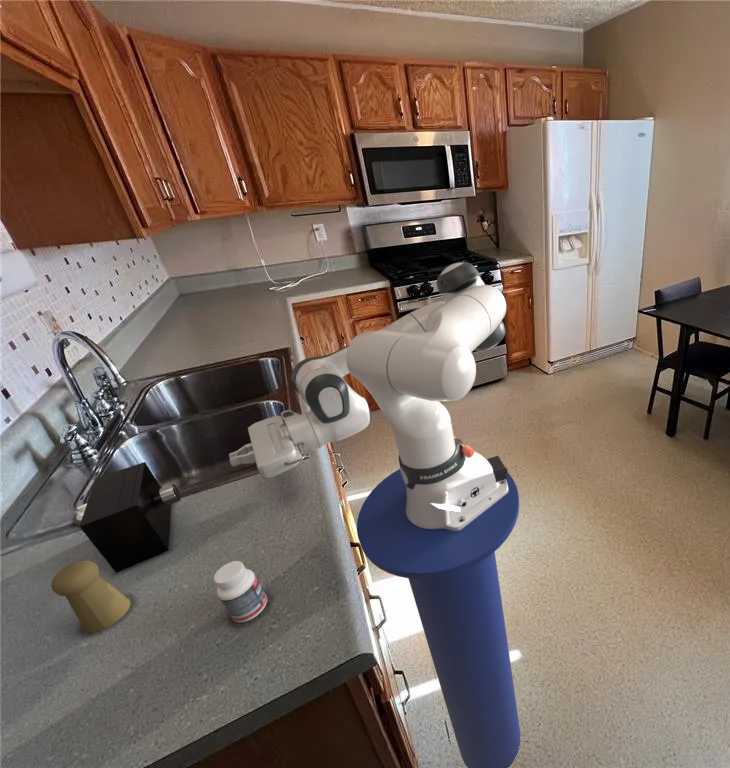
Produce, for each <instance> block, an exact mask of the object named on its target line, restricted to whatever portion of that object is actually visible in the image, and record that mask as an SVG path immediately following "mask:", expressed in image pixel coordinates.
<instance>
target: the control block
mask: <svg viewBox="0 0 730 768" xmlns="http://www.w3.org/2000/svg"><path fill="white" fill-rule="evenodd" d="M160 488H162V487H161V485H160V483H159V482H158V480H157V478H156V477H155V476H154V474H153V472H152V470H151V468H150V467H149V466H148V464H147V462H146V461H143V462H140V463H138V464H134V465H132V466H128V467H125V468H123V469H119V470H116V471H113V472H110V473H107V474H104V475H102V476H99V477H96V478H95V479H94V482H93V485H92V488H91V490H90V494H89V497H88V500H87V503H86V504H87V505H86V508H85V511H84V514H83V517H82V520H81V523H80V526H78V527H79V528H80V530H81V531H82V532H83V534H84V535H85V536H86V537H87V539H89V541H90V542H91V543H92V545H93V546H94V547H95V548H96V550H97V551H98V553H100V555H101V556H102V557H103V559H104V560H105V561H106V562H107V563H108V565H109V566H110V567H111V569H112V570H113V571H114V572H115V574H117V573H119V572H122V571H124V570H126V569H130V568H132V567H133V566H136V565H138V564H140V563H143V562H145V561H148V560H149V559H153V558H156V557H158V556H160V555H162V554H164V553H166V552H168V551H169V550H170V548H169V547H170V534H171V521H172V520H171V519H172V505H173V504H171V505H168V506H166V505H165V504H164V503H163V501H162V502H159V503H157V504H153V503H152V501H151V500H150V499H151V498H153V497H156V496H158V495H160V494H159V489H160Z"/></svg>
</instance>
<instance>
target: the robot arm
mask: <svg viewBox="0 0 730 768" xmlns="http://www.w3.org/2000/svg"><path fill="white" fill-rule="evenodd" d="M479 274H480V272H479V271H478V269H477V268H476V267H475V266H474V265H473V264H472V263H470V262H467V261H465V262H455V263H451V264H449V265H448V266H447V267H445V268H444V269H443V270H442V271H441V273H440V274H439V275H438V276H437V279H436V286H437V290H438V293H439V295H441V296H442V299H443V301H442V300H439V301H438V300H437V301H435V302H432V303H429V304H426V305H424V306H421V307H419V308H417V309H414V310H413V311H411V312H409V313H407V314H405V315H403V316H401V317H400V318H398V319H397V320H395V321H393V322H391V323H390V324H388V325H386V326H384V327H382V328H381V329H378V330H377V329H376V330H369V331H364V332H361V333H358V334H357V335H355V337H353V338H352V340H351V341H350V342H349V344H348V345H345V346H343V347H342V348H339V349H337V350H335V351H333V352H331V353H328V354H324V355H318V356H311V357H307V358H305V359H302V360H301V361H299V362H298V363H297V364H296V365H295V366H294V367H293V370H292V372H291V376H290V377H291V378H290V380H291V381H290V382H291V385H292V387H293V389H294V391H296V393H298V395H300V397H301V399H302V400H303V402H304V403H305V404H306V405H307V407H308V408H309V411H308V412H305V413H301V414H300V413H297V412H294V411H293V410H290V409H287V410H284V411H282V412H280V415H274V416H270V417H267V418H265V419H262V420H259V421H257V422H254V423H253V424H251V425H250V426H248V427H247V432H248V437H249V439H250V443H247V444H244V445H243V446H242V447H240V448H239V449H238V450H236V451H233V452H230V453H229V454H228V459H229V464H230V465H231V467H237V466H239V465H246V464H247V465H248V464H253V463H255V465H256V468H257V471H258V473H259V474H260V477H261V478H262V479H264V480H266V479H267V480H268V479H271V478H274V477H277V476H279V475H280V474H284V473H285V472H288V471H289V470H292V469H293V468H295V467H296V466H298V464H300V462H302V461H303V460H304V459H305V457H307V454H308V453H311V452H314V451H316V450H319V449H322V448H323V447H324V446H327V445H328V444H330V443H333V442H340V441H343V440H346V439H348V438H349V437H352V436H354V435H356V434H359V433H360V432H361V431H363V430H365V429H366V428H367V427H368V426H369V425H370V422H371V410H370V407H369V404H368V401H367V399H366V398H365V397H363V396H361V395H359V394H358V393H357V392H356V391H355V390H354V389H353V388H352V387H351V386H350V385H349V384H348V383H347V381H346V380H345V378H344V377H345V376H347V375H349V374H350V375H351V376H352V377H353V378H355V380H356V381H358V382H359V383H360V384H361V385H362V386H363V387H364V388H365V389H366V390H367V391H368V393H369V394H370V395H371V397H372V398H373V399H374V401H375V402H376V404H377V405H378V407H379V409H380V410H381V412H382V413H383V415H384V417H385V418H386V420H387V422H388V425H389V426H390V428H391V431H392V435H393V437H394V441H395V443H396V447H397V451H398V457H397V458H398V464H399V469H400V471H401V475H402V478H403V481H404V483H405V484H406V493H407V503H406V515H407V518H408V519H409V521H410V522H411V523H413V524H414V525H416V526H418V527H421V528H425V529H447V530H451V531H459V530H461V529H463V528H464V527H465V526H466V525H468V524H469V523H470V522H471V521H473V520H474V519H475V518H477V517H478V516H479V515H480V514H482V513H483V512H484V511H485V510H487V509H488V508H489V507H491V506H492V505H493V504H494V503H496V502H497V501H498V500H499V499H501V498H502V497H503V496H504V495H506V494H507V493H508V485H507V481H506V479H507V472H508V468H507V467H506V466H505V464H504V462H503V461H502V460H501V458H500V456H499V455H495V456H492V457H489V458H486V457H485V456H483V455H482V454H481V453H479V452H478V451H475V450H474V449H473V448H472V447H471V446H470V445H469V444H464V442H463V441H462V440H461V439H460V438H458V437H456V436H455V435H454V430H453V424H452V418H451V415H450V412H449V410H448V409H447V407H446V406H445V405H444V404H442V402H457V401H460V400H462V399H463V398H464V397H465V396H466V395H468V393H469V392H470V391H471V389H472V388H473V385H474V383H475V381H476V377H477V364H476V360H475V358H474V354H473V351H476V352H482V351H487V350H491V349H492V348H494V347H496V346H497V345H498V344H500V343H501V341H502V340H503V339H504V337H505V335H506V328H505V324H504V320H503V319H504V318H505V316H506V313H507V302H506V299H505V296H504V295H503V293H502V292H501V291H500V290H499V289H498V288H497V287H495V286H493V285H489V284H485V282H484V281H483V280H482V278H481V276H480V275H479ZM485 458H486V459H488V461H487V460H486V459H485ZM508 473H509V472H508ZM502 483H503V484H502ZM461 521H462V522H461Z"/></svg>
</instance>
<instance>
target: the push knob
mask: <svg viewBox="0 0 730 768" xmlns="http://www.w3.org/2000/svg"><path fill="white" fill-rule="evenodd" d="M159 494H160V495H158V496H156V497H153V498H151V499H150V500H151V501H152V503H153V504H157V503H159V502H162V501H163V503H164V504H165V505H166V506H168V505H171V504H172V505H173V504H176V503H178V502H181V501H182V500H181V499H182V497H181V493H180V491H179V489H178V487H177V485H176V484H174V483H171V484H168V485H166V486H163V487H161V488H160V489H159Z"/></svg>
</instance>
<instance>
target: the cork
mask: <svg viewBox="0 0 730 768" xmlns="http://www.w3.org/2000/svg"><path fill="white" fill-rule="evenodd" d="M50 586H51V590H52V592H54V593H55V594H56V595H58V596H59V597H65V599H66V600H67V602H68V603H69V605H70V607H71V609H72V611H73V612H74V614H75V616H76V618H77V619H78V622H79V623H80V625H81V627H82V628H83V630H84V631H85V632H86V633H91V634H92V633H97V632H101V631H103V630H106V629H107V628H108V627H109V628H110V627H111V626H112V625H114V624H115V623H117V622H118V621H119V620H120V619H122V618H123V617H124V616H125V615H126V613H127V612H128V611H129V609H130V606H131V600H130V599H129V598H128V597H127V596H125V595H124V594H123V593H121V592H120V591H119V590H118V589H117V588H116V587H114V586H113V585H112V584H110V583H109V582H108V581H106V580H105V579H104V578H103V577H101V576H100V568H99V566H98V565H97V564H96V563H95V562H93V561H91V560H79V561H76V562H73V563H71V564H69V565H66V566H65V567H64V568H62V569H61V570H60V571H58V572H57V573H56V574H55V575H54V576H53V577H52V580H51V583H50Z"/></svg>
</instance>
